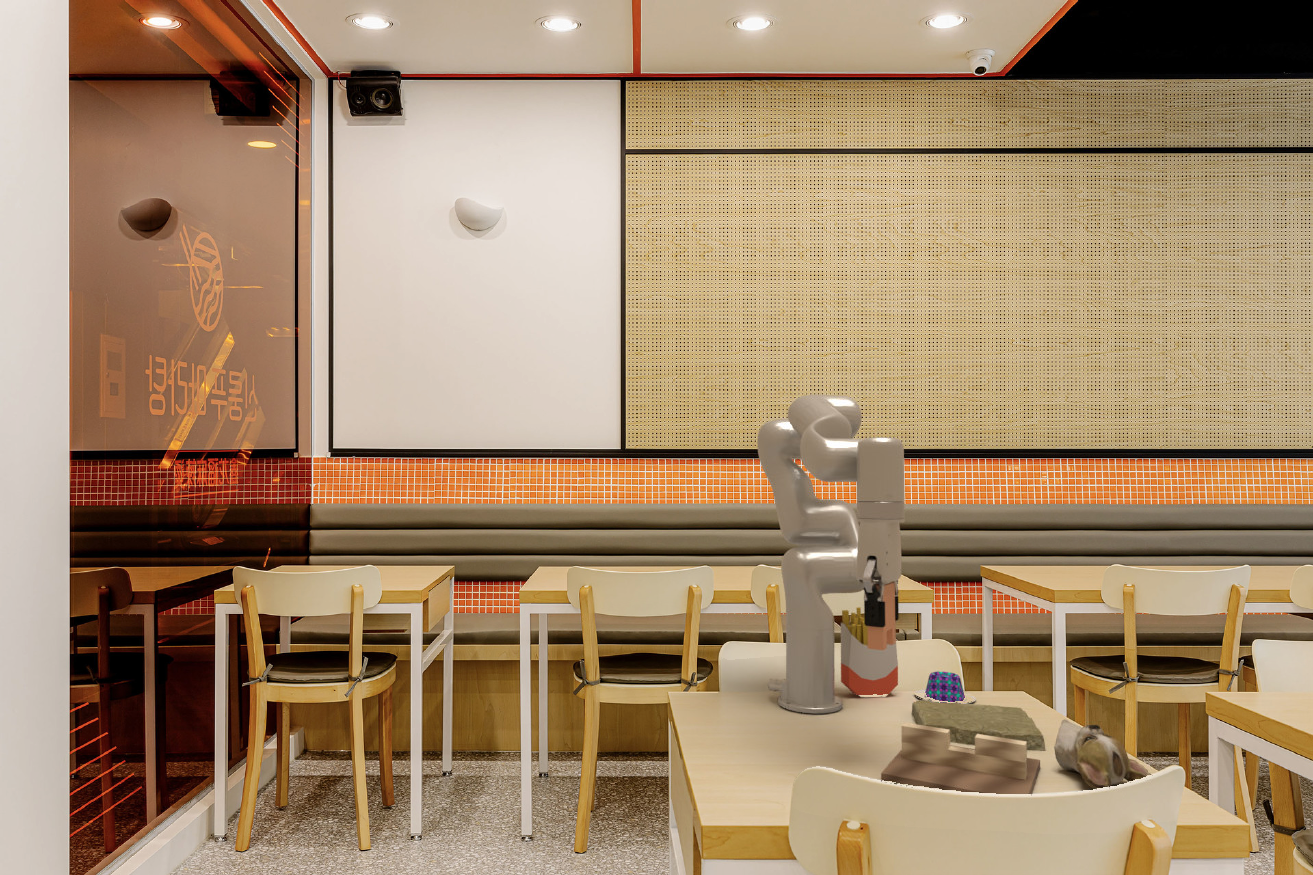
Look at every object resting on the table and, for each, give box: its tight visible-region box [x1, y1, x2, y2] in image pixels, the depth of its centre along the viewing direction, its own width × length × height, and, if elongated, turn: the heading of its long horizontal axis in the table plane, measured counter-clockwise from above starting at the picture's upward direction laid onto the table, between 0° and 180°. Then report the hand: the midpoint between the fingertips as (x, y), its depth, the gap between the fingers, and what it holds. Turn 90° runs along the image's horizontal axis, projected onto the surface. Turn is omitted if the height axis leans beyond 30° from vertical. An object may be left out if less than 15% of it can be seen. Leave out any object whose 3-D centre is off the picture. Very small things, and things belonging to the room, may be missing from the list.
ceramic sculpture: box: [1053, 719, 1152, 789], centre depth 124 cm, size 11×9×15 cm
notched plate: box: [868, 582, 897, 650], centre depth 133 cm, size 2×7×10 cm, turn 148°
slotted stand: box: [880, 722, 1041, 795], centre depth 126 cm, size 20×19×6 cm
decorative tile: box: [911, 699, 1047, 752], centre depth 148 cm, size 19×20×4 cm
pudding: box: [914, 671, 977, 704], centre depth 170 cm, size 12×12×5 cm
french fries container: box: [840, 606, 899, 696], centre depth 172 cm, size 5×11×18 cm, turn 101°
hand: (881, 622), depth 133 cm, fingers closed on notched plate, 7 cm apart
